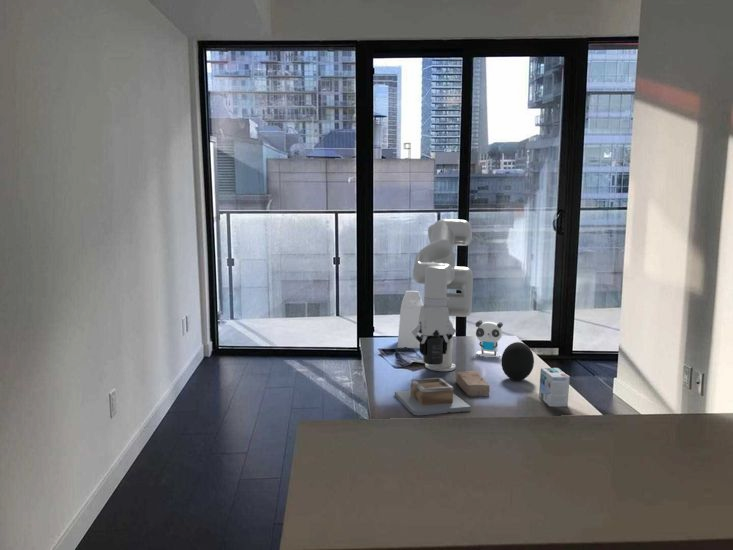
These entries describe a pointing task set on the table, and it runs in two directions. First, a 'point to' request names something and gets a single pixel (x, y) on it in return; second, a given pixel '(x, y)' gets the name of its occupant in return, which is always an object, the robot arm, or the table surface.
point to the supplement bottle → (434, 349)
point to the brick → (473, 383)
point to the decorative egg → (517, 361)
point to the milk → (409, 319)
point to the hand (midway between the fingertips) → (433, 353)
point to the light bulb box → (554, 387)
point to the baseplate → (420, 409)
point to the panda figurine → (488, 338)
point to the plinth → (431, 391)
